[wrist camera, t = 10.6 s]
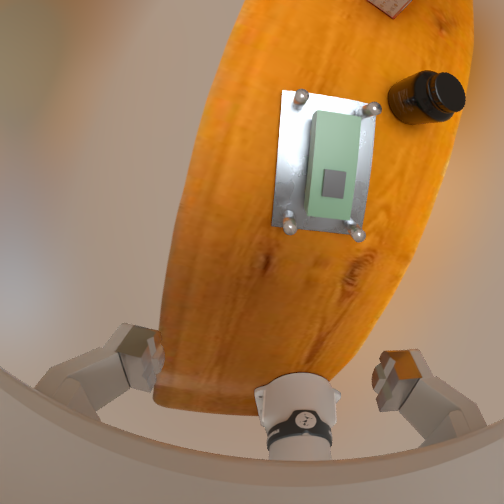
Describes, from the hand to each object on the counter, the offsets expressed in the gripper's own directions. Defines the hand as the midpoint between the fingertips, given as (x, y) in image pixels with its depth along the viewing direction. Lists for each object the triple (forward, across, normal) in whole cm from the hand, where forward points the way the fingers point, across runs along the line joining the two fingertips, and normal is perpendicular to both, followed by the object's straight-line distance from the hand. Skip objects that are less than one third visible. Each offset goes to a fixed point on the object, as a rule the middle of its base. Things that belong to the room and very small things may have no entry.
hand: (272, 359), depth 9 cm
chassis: (+31, -6, -5) cm, 32 cm away
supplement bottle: (+31, -18, -17) cm, 40 cm away
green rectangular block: (+27, -6, -6) cm, 29 cm away
